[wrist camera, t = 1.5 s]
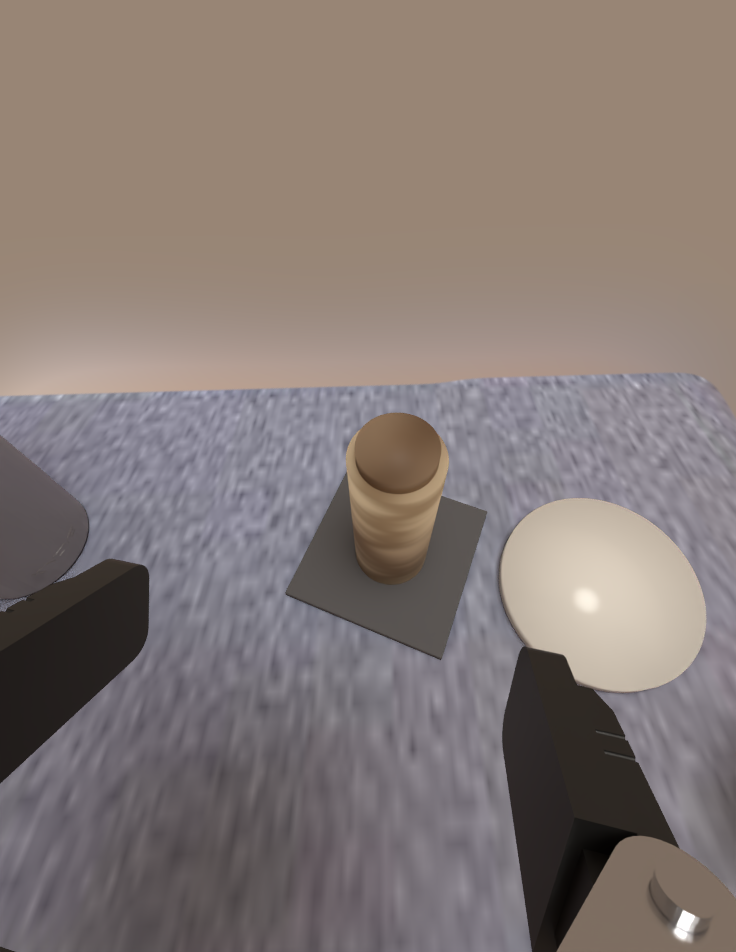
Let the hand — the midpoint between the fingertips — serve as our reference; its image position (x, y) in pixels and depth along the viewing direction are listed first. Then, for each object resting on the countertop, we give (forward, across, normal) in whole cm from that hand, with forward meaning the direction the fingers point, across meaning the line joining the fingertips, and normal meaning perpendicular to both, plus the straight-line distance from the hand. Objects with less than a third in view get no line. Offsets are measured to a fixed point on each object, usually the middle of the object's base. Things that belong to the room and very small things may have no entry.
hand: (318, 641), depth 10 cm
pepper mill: (+25, 0, +8) cm, 26 cm away
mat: (+25, 0, +8) cm, 26 cm away
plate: (+25, -15, +8) cm, 31 cm away
